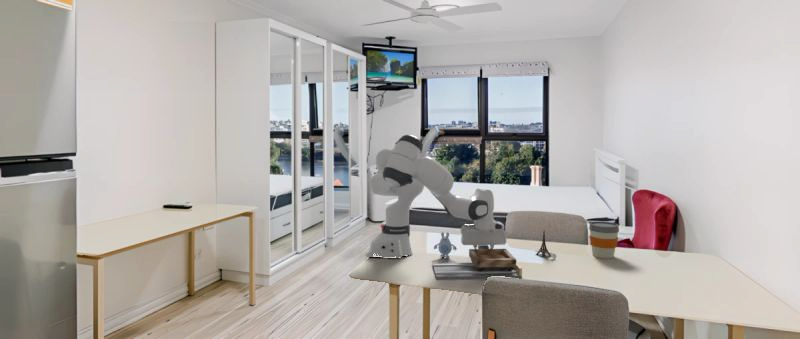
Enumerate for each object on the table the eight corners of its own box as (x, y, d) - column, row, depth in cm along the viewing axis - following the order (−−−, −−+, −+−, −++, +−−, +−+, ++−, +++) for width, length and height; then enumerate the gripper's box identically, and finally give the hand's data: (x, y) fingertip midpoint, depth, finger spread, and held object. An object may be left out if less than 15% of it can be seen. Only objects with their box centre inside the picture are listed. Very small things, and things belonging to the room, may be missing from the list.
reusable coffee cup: (611, 252, 206) (612, 221, 205) (622, 260, 194) (623, 227, 192) (584, 251, 207) (585, 221, 206) (593, 259, 195) (594, 227, 194)
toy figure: (432, 259, 197) (432, 233, 196) (434, 255, 203) (434, 230, 202) (455, 260, 195) (456, 234, 194) (457, 256, 201) (457, 231, 200)
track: (436, 279, 170) (436, 269, 170) (432, 265, 188) (432, 256, 188) (521, 278, 171) (522, 268, 170) (509, 264, 189) (509, 255, 188)
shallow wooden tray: (476, 273, 171) (476, 260, 171) (469, 261, 187) (469, 249, 187) (516, 272, 172) (516, 259, 171) (505, 261, 188) (505, 248, 187)
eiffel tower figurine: (555, 262, 193) (556, 233, 191) (532, 260, 196) (532, 231, 195) (556, 253, 207) (557, 226, 205) (534, 251, 210) (534, 224, 209)
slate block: (479, 260, 194) (480, 247, 193) (478, 257, 198) (478, 244, 197) (488, 260, 194) (488, 247, 193) (486, 257, 198) (486, 244, 197)
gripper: (462, 226, 191) (461, 256, 192) (507, 225, 191) (507, 255, 192) (459, 223, 197) (459, 252, 198) (504, 222, 198) (503, 251, 199)
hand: (483, 254), depth 195 cm, fingers closed on slate block, 4 cm apart
